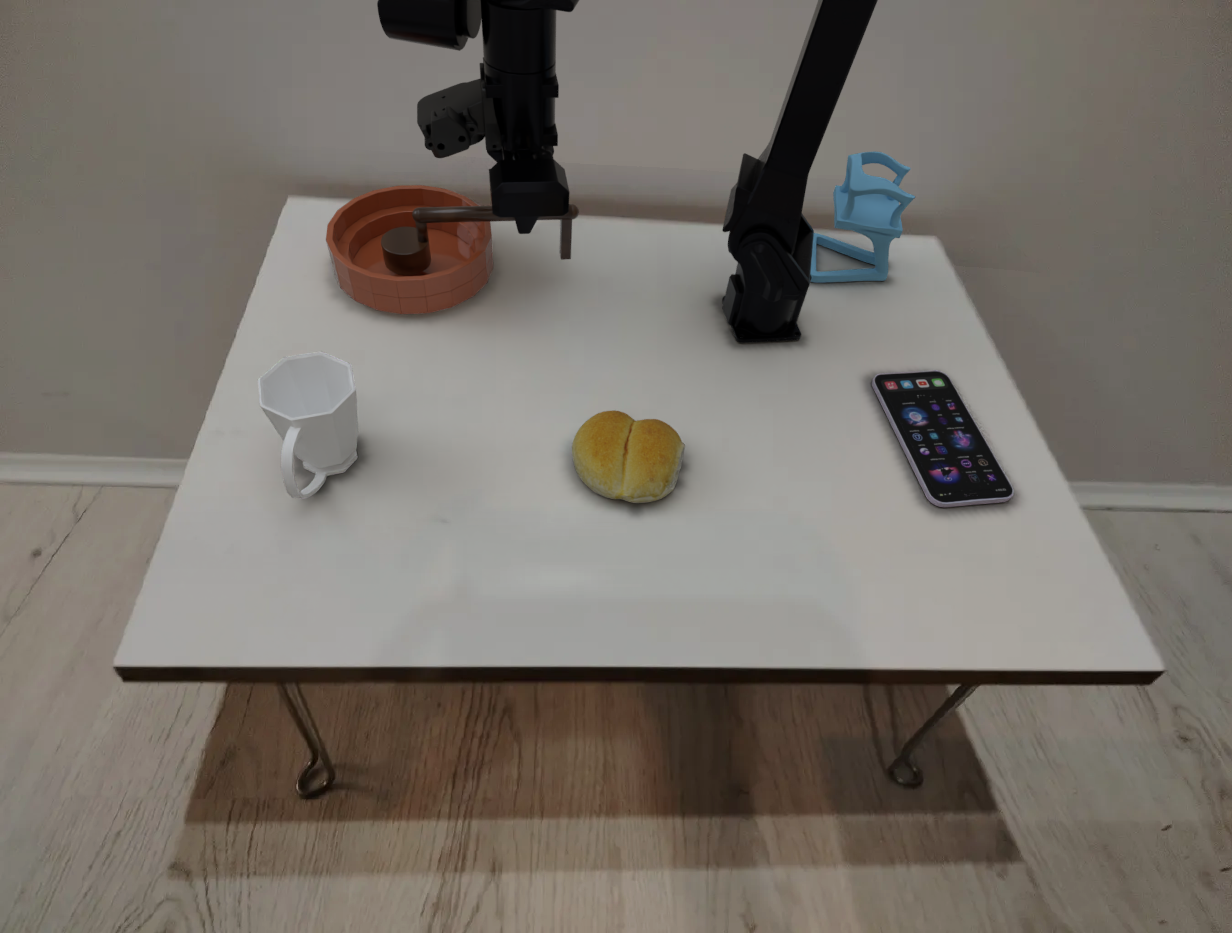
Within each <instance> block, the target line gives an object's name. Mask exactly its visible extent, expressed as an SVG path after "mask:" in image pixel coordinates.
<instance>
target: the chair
mask: <svg viewBox="0 0 1232 933" xmlns="http://www.w3.org/2000/svg"><path fill="white" fill-rule="evenodd" d="M870 164H879V165H882V166H884V167H886V168H888V169H889V170H891V171H892V172H893V173H894V174H896V176H895V178H894V179H893V181H891V180H889V179H887V178H885V177H880V176H875V175H869V174H867V173H865V171H864V169H863V166H865V165H870ZM845 169H846V170H845V178H844V180H843V183H842V184H841V185H837V184H836V185H835V186H834V188H833V192H832V195H833V198H832V199H833V208H834V209H833V210H834V217H833V218H834V219H833V221H834V222H833V223H834V224H833V225H834V229H838V230H844V231H853V232H854V233H857V234H860V235H862V236H864V237H866V238H868V239H869V241H871V243H872V247H873V251H870V250H867V249H864V248H861V247H858V246H856V245H853V244H851V243H848V242H845V241H842V240H839V239H837V238H834V237H831V236H827V235H824V234H822V233H818V232H814V237H813V249H812V261H811V273H810V275H811V277H812V279H811V282H810V283H823V284H825V283H843V282H844V283H845V282H865V281H867V282H868V281H869V282H870V281H874V282H877V281H878V282H881V281H882V282H884V281H886V280H887V279H888V275H889V256H890V255H889V254H890V253H889V252H890V245H891V243H892V241H893V240H894V239H901V236H902V233H903V232H904V230H903V223H902V218H901V216H902V213H903V212H904V211H905V209H906V208H907V207H908V206H909V205H910V204H911V203H912V202H913V201H914V200H915V199H916V196H915V195H914V194H910V193H908V192H907V191H904V190H903V189H902V188H900V185H901V183H902V182H903V179H904V177H906V175H907V174H908V173H909V172H910V171H911V170H912V168H911V167H910V166H908V165H904V164H902V163H900V162H899V161H898V160H896V159H895V158H893V157H892V156H890V155H889V154H887V153H885V152H882V151H877V150H875V151H864V152H863V151H862V152H858V153H853V154H852V153H851V154H848V156H847V160H846V168H845ZM817 245H820V246H822V247H824V248H827V249H830V250H832V251H835V252H838V253H840V254H843V255H846V256H848V257H850V258H854V259H856V260H857V261H858V260H859V261H861V262H864V263H867V264H870V265H873V266H874V267H868V268H867V267H866V268H852V269H851V268H850V269H838V270H826V271H825V270H823V271H818V270H817Z"/></svg>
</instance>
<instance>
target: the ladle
mask: <svg viewBox="0 0 1232 933" xmlns="http://www.w3.org/2000/svg"><path fill="white" fill-rule="evenodd" d="M579 215H580V208H579V207H578V206H577V204H575V203H569V212H568V213H567V214H565V215H564V216H548V217H539V218H538V220H537V221H559V256H560V260H571V259H572V240H573V239H572V237H573V220H575V219H577V218H578V217H579ZM412 217H413V219H414V221H415V224H416V228H414V227H398V228H394V229H391V230H389V231H388V232H386V233H385V234H384V235H383V236H382V238H381V247H382V252H383V257H384V263H385V265H386V267H387V268H388V269H389V270H390V271H391V272H393V273H396V274H400V275H413V274H417V273H420V272H422V271H424V270H426V269H427V268H428V267H429V266H430V264H431V253H430V245H429V238H428V230H427V223H454V222H490V223H493V222H515V219H514V217H510V218H499V217H497V216H496V215H494V214H492V205H479V206H456V207H418V208H415V209H414V210H413V212H412Z"/></svg>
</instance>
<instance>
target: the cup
mask: <svg viewBox="0 0 1232 933" xmlns="http://www.w3.org/2000/svg"><path fill="white" fill-rule="evenodd" d="M257 387H258V389H257V390H258V398H259V399H258V400H259V407H260V408H261V410H262V412H263V413H264V415H265V416H266V418H267V419H268V420H269V422H270V423H271V424H272V426H273V427H274V429H275V430H276V432H277V433H278V435H279V436H280V438H281V440H282V441H283V442H282V446H281V451H280V471H281V475H282V481H283V484H284V488H285V491H286V493H287V494H288V495H289V496H290V497H291V498H292V499H309V498H310V497H312V496H313V495H315V494H316V493H317V492H318V491H319V490H320V489H321V488H322V487H323V485H324V484H325V482H326V480H327V477H328V476H333V475H338V474H343V473H345V472H346V471H347V470H348V469H349V468H350V467H351V466H352V465H353V464H354V463H355V461H356V460H358V452H357V445H358V438H359V437H358V436H359V421H358V396H357V386H356V381H355V376H354V370H353V365H352V363H351V362H348V361H346V360H343V359H341V358H340V357H337V356H334V355H332V354H330V353H327V352H325V351H323V350H319V351H313V352H307V353H300V354H293V355H287V356H283V357H282V358H280V360H279V361H277V362H275V364H274V365H272V367H270V368H269V369H268V370H267V371H266V372H264V373H263V374H262V375H261V376H259V378H258V379H257ZM295 457H296V458H298V460H300V461H302V467H303V469H304V470H306V471H308V472H310V473H313V474H315V475H314V478H313V479H312V480H311V482H310V483H309V484H308V485H307V486H305V487H304V488H303V489H301V490H300V489H299V486H298V482H297V478H296V473H295Z"/></svg>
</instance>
